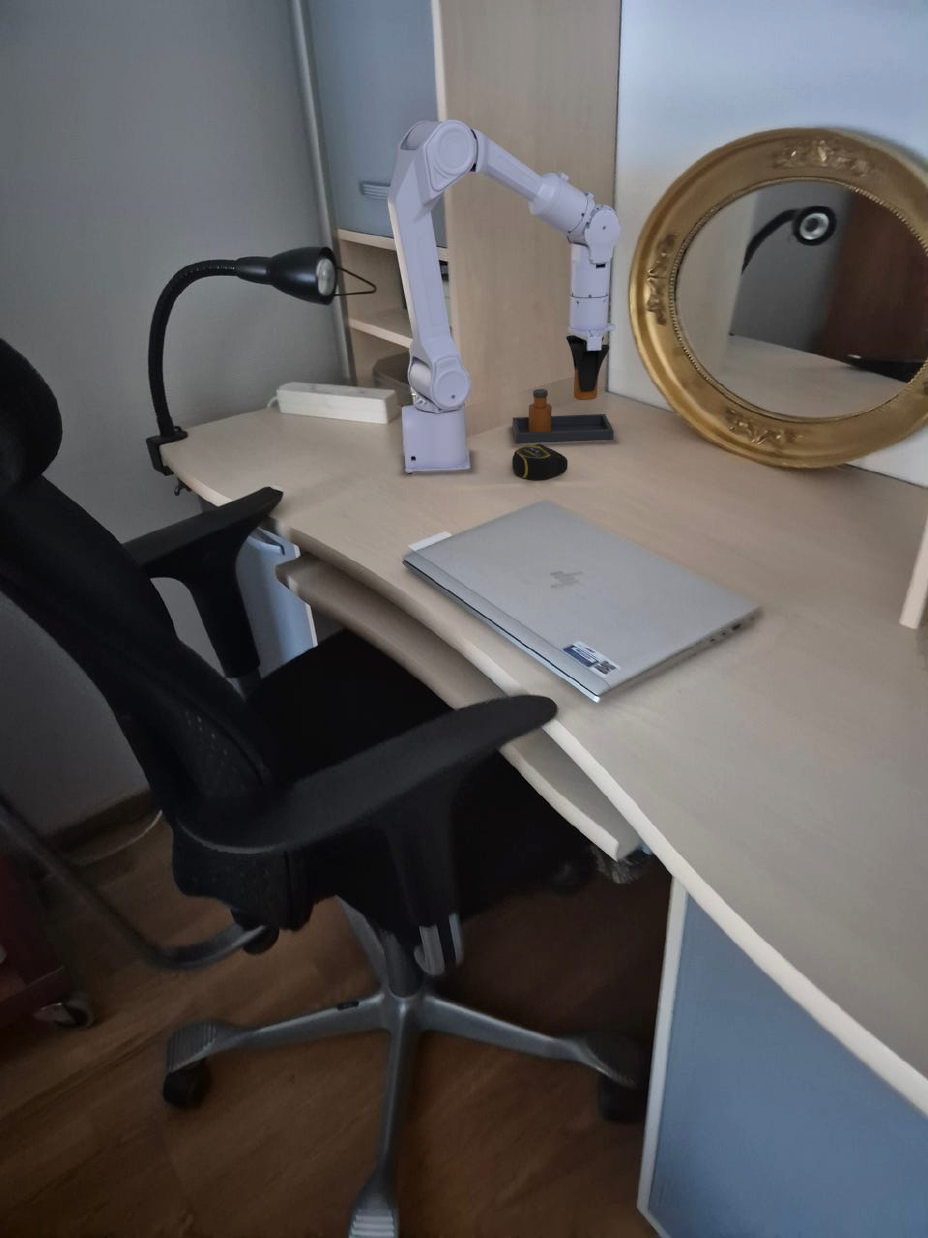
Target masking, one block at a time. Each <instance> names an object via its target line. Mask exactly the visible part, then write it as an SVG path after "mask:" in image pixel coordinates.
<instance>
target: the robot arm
mask: <svg viewBox="0 0 928 1238" xmlns="http://www.w3.org/2000/svg"><path fill="white" fill-rule="evenodd" d="M396 153H397V158H396V162H395V165H394V170H393V174H392V178H391V182H390V186H389V189H388V194H387V208H388V213H389V218H390V223H391V229H392V233H393V240H394V245H395V250H396V255H397V261H398V266H399V271H400V276H401V282H402V287H403V293H404V297H405V301H406V302H405V303H406V308H407V314H408V318H409V323H410V324H409V325H410V329H411V335H412V341H411V343H410V344H409V347H408V353H409V364H408V368H407V381H408V383H409V386H410V387H411V388H412V390H413V391H414V392H415V394H416V395H415V400H414V404H412V405H404V406H402V408H401V409H402V410H401V425H402V428H401V429H402V440H403V444H402V455H403V457H404V464H405V465H404V466H405V469H404V470H405V473H406V474H412V473H413V472H426V471H428V472H429V471H454V470H457V471H458V470H469V469H471V463H470V462H471V461H470V449H468V448H467V427H466V401H467V400H468V399H469V396H470V394H471V391H472V379H471V376H470V374H469V371H467V370H466V368H465V367H464V365H463V362H462V356H461V353H460V351H459V348H458V347H457V344H456V343H455V341H454V339H453V337H452V335H451V327H450V322H449V316H448V315H449V314H448V309H447V303H446V296H445V292H444V286H443V279H442V273H441V265H440V260H439V253H438V248H437V242H436V235H435V229H434V223H433V218H432V217H433V216H432V210H433V208H435V206H436V204H437V203H438V202H439V200H440V199H441V197H442V196H443V195H444V193H445V191H447V190H448V189H449V188H451V187H452V186H453V185H455V184H456V183H458V182H459V181H460V180H462V179H463V178H464V177H465V176H466V175H467V174H481V175H483V176H485V177H487V178H489V179H490V180H491V181H494V182H495V183H497V184H499V185H500V186H502V187H504V188H505V189H507V190H509V191H511V192H513V193H515V194H516V195H518V196H520V197H522V198H523V199H525V200H526V203H527V208H528V211H529V214H530V215H531V216H533V217H535V218H536V219H538V220H539V221H540V222H543V223H544V224H546V225H547V226H549V227H551V228H552V229H554V230H555V231H556V232H558V233H560V234H561V235H563V237H564V239H565V240H566V242H567V243H568V244H571V245H570V271H569V272H570V273H569V274H570V276H569V277H570V278H569V302H568V303H569V304H568V305H569V307H568V325H567V326H566V327H567V329H566V331H567V333H569V334H571V335H567V336H566V337H565V339H566V340H567V343H568V346H569V348H570V352H571V356H572V361H573V369H574V371H575V367H577V371H578V381H579V387H580V390H581V391H594V389H595V386H596V383H597V379H598V380H599V374H600V371H601V368H602V364H603V362H604V360H605V358H606V356H607V355H608V354H609V351H610V345H609V344H608V343H607V344H606V343H605V344H602V342H603V341H604V338H605V336H606V334H607V333H608V332H613V331H615V330H616V325H615V323H612V322H608V320H609V319H608V316H609V300H610V283H611V282H610V280H611V265H612V264H611V263H612V262H611V261H612V258H613V254H614V247H615V245H616V243H617V242H618V240H619V238H620V236H621V233H622V225H621V224H619V218H618V216H617V215H616V214H617V212H616V211H615V210H614V208H613V207H611V206H609V205H607V204H602V203H595V200H594V194H592V193H591V192H590V191H584V192H582V191H581V190H579V188H577V187H576V186H574V185H572V184H571V183H569V182H568V181H569V180H570V177H569V176H568V175H567V174H566V173H564V172H557V173H555V172H547V173H545V174H542V175H539V174H538V173H537V172H535V171H534V170H533V169H531V168H530V167H528V166H527V164H525V163H523V162H521V160H519V159H518V158H516V157H515V156H513V155H512V154H511V153H510V152H508V151H507V150H505V149H504V148H503V147H502V146H501V145H499V144H498V143H496V142H495V141H493V140H492V139H490V138H489V137H488V136H487V135H486V134H484V133H483V132H481V131H479V130H477V129H474V128H469V126H468V125H467V124H466V123H464V122H463V121H460V120H459V119H446V120H444V121H443V120H441V121H439V120H438V121H432V120H427V119H426V120H420V121H417V122H416V123H415V124H413V125H412V126H411V127H410V128H409V129H408V131H406V133H405V134H404V136H403V137H402V138H401V140H400V141H399V143H398V144H397V145H396Z"/></svg>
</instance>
